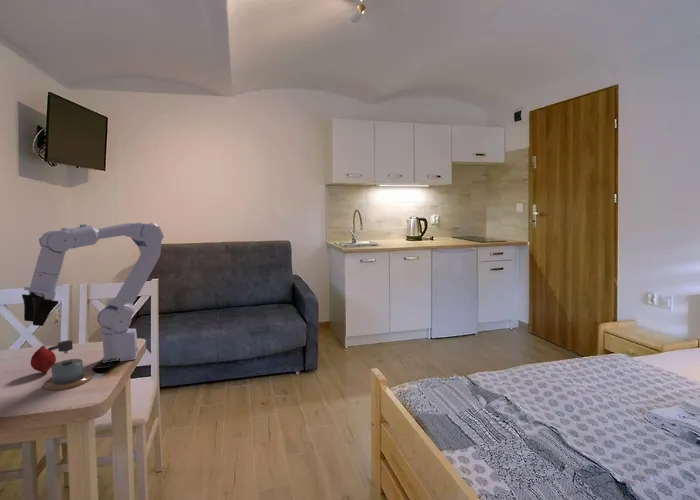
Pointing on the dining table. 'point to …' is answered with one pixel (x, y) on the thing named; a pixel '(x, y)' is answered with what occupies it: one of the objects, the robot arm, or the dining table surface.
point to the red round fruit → (43, 359)
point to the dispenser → (67, 375)
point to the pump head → (63, 346)
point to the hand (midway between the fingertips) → (33, 323)
